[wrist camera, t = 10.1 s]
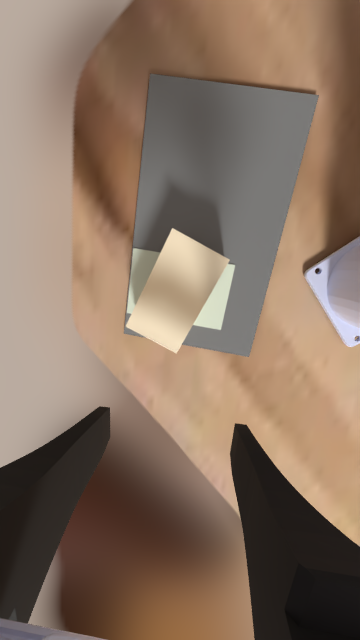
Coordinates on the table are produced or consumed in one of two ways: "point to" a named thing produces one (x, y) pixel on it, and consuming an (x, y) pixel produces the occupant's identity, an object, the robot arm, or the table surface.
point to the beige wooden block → (176, 290)
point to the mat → (218, 192)
